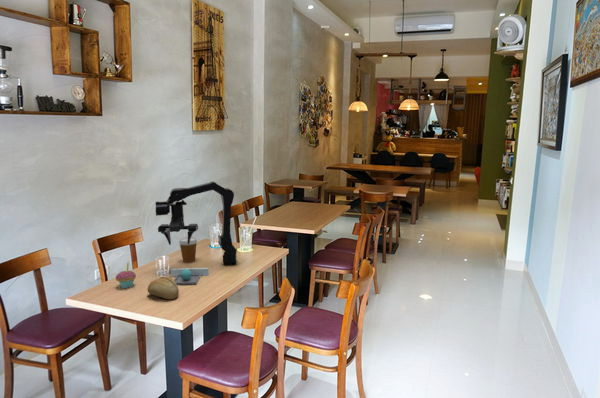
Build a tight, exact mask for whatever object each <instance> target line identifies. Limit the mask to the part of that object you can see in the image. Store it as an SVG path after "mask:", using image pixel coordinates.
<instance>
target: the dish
mask: <svg viewBox="0 0 600 398" xmlns="http://www.w3.org/2000/svg"><path fill="white" fill-rule="evenodd" d="M201 278H202V276H201V274H195V275H191V278H190V279H188V280H183V279H182V278H181V275H177V276H175V278H174V279H173V280H174V281H175V282H176V284H177V286H197V284H198V282H200V281H199V280H200V279H201Z"/></svg>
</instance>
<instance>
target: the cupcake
mask: <svg viewBox="0 0 600 398" xmlns="http://www.w3.org/2000/svg"><path fill="white" fill-rule="evenodd" d="M129 264H130V263H129V262H127V263H126V270H122V271H120V272H118V273H117V274H116V275H115V280H116V281H117V282H119V285H120V287H121V289H122V288H123V289H128V288H131V287H133V284H134V281H135V279H136V276H137V275H136V273H135V272H134V271H133V270H129V268H130V267H129V266H130V265H129Z"/></svg>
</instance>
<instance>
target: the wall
mask: <svg viewBox="0 0 600 398" xmlns="http://www.w3.org/2000/svg"><path fill="white" fill-rule="evenodd" d="M185 269H188V270H190V271H191V273H192V275H195V274H201V277H202V276H203V277H204V276H205V277H210V268H209V267H197V268H196V267H191V268H187V267H186V268H171V269H170V275H171V277H176V276H177V275H181V272H182V271H183V270H185Z"/></svg>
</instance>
